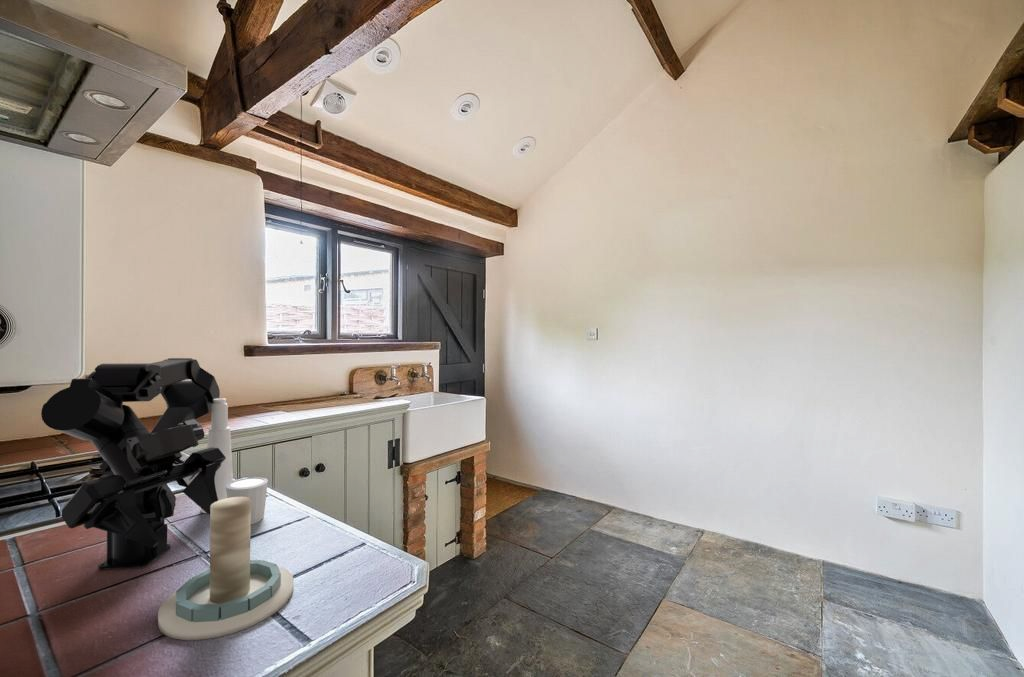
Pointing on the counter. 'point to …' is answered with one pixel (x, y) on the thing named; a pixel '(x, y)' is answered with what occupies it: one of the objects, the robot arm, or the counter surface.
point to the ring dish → (227, 624)
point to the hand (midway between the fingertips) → (189, 529)
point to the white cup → (250, 494)
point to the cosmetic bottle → (221, 445)
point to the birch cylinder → (230, 549)
